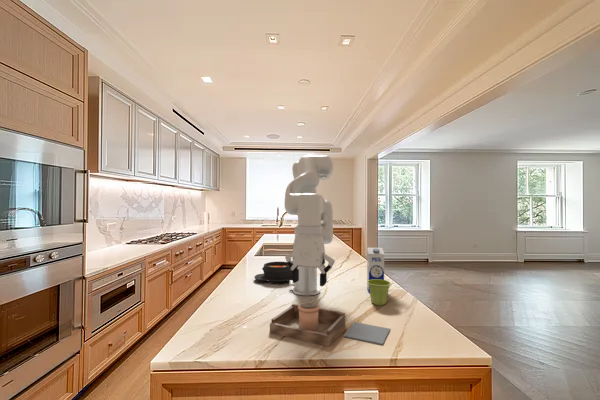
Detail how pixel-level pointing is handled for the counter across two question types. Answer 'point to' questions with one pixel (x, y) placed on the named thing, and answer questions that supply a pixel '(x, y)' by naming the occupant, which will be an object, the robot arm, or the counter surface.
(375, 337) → the mat
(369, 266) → the milk carton
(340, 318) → the wooden tray
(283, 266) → the casserole
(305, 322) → the terracotta pot
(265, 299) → the counter surface
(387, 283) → the plant pot
